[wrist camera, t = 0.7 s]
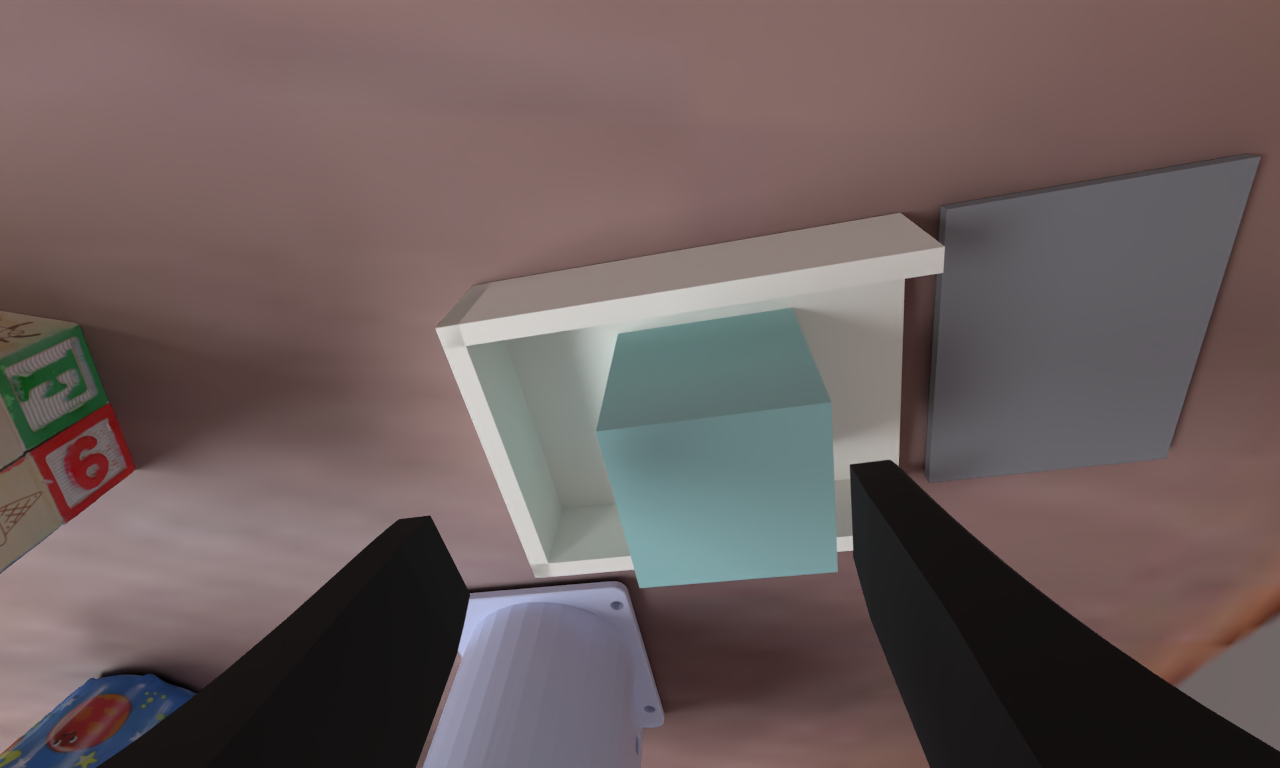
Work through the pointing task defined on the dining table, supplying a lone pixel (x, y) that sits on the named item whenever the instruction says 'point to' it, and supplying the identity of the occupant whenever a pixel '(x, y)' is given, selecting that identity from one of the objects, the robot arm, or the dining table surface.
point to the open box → (658, 297)
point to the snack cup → (96, 722)
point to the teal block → (720, 451)
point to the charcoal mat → (1076, 318)
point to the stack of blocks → (51, 432)
